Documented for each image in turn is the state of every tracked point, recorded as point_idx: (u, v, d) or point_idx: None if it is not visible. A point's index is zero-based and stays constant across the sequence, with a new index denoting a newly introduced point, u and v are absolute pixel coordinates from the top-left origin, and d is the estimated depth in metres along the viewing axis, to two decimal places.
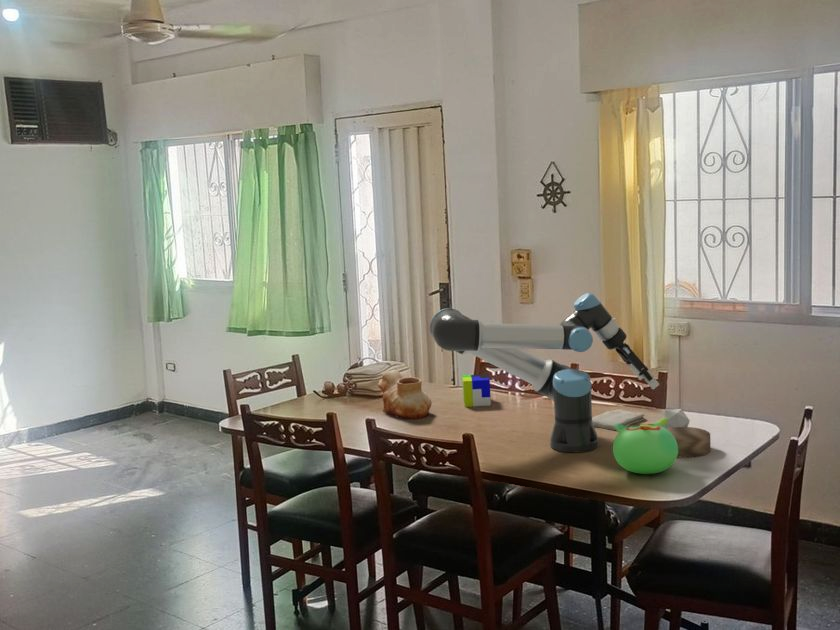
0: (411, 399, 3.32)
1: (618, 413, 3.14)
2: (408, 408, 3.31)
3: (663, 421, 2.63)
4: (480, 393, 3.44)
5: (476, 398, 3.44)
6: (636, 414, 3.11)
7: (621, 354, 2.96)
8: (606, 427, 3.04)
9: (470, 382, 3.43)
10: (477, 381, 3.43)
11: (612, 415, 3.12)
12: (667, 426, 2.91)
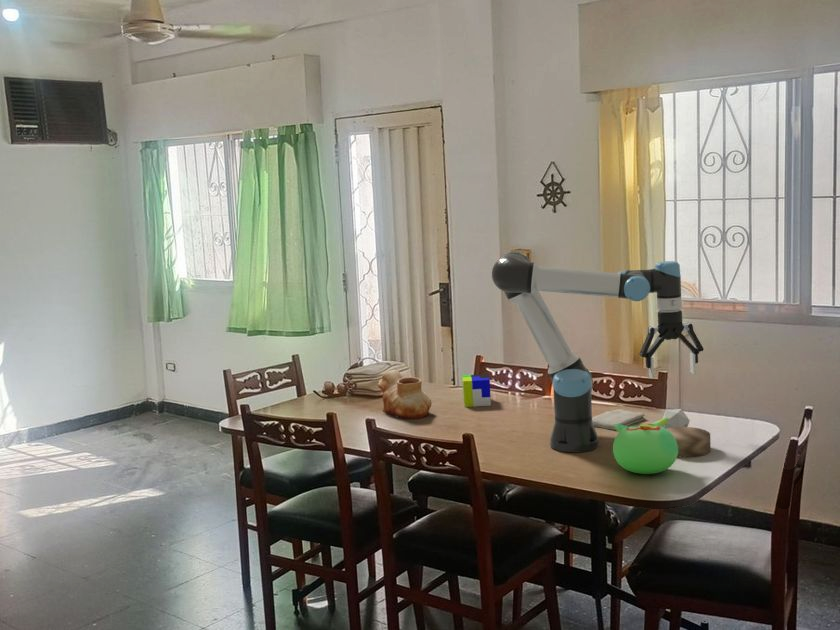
0: (411, 399, 3.32)
1: (618, 413, 3.14)
2: (408, 408, 3.31)
3: (663, 421, 2.63)
4: (480, 393, 3.44)
5: (476, 398, 3.44)
6: (636, 414, 3.11)
7: None
8: (606, 427, 3.04)
9: (470, 382, 3.43)
10: (477, 381, 3.43)
11: (612, 415, 3.12)
12: (667, 426, 2.91)
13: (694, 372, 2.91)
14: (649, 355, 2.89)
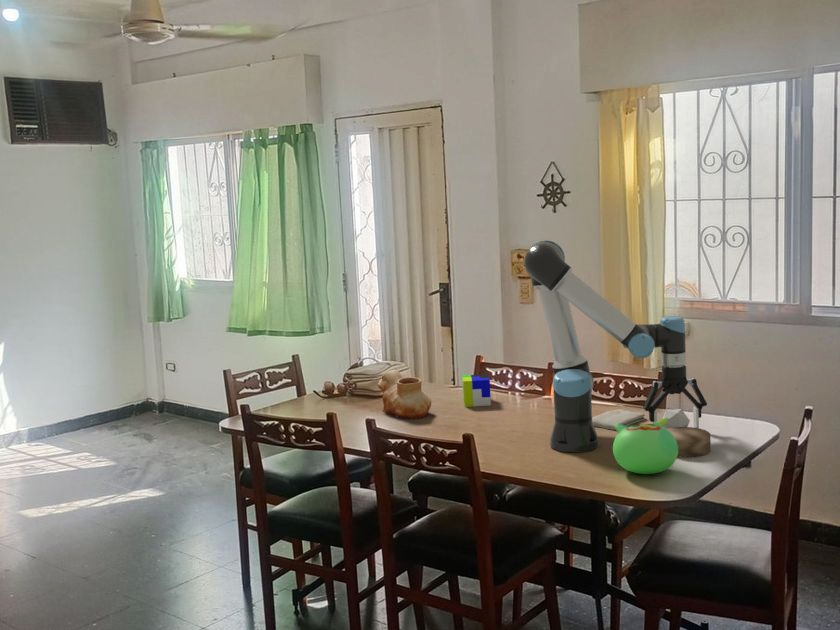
0: (411, 399, 3.32)
1: (618, 413, 3.14)
2: (408, 408, 3.31)
3: (663, 421, 2.63)
4: (480, 393, 3.44)
5: (476, 398, 3.44)
6: (636, 414, 3.11)
7: None
8: (606, 427, 3.04)
9: (470, 382, 3.43)
10: (477, 381, 3.43)
11: (612, 415, 3.12)
12: (667, 426, 2.91)
13: (697, 426, 2.93)
14: (652, 409, 2.91)
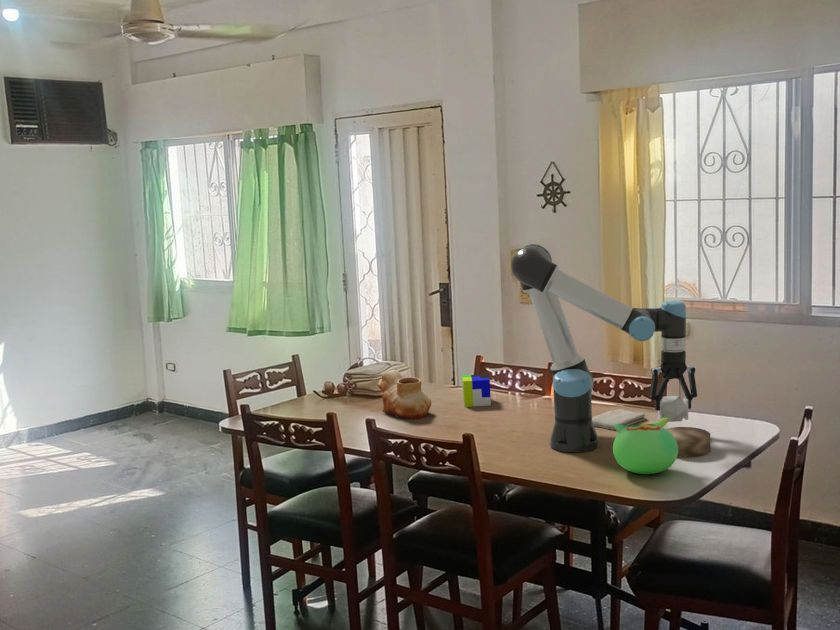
0: (411, 399, 3.32)
1: (619, 413, 3.14)
2: (408, 407, 3.31)
3: (663, 421, 2.63)
4: (480, 393, 3.44)
5: (476, 398, 3.44)
6: (637, 414, 3.11)
7: None
8: (606, 427, 3.04)
9: (470, 382, 3.43)
10: (477, 381, 3.43)
11: (613, 415, 3.12)
12: (665, 412, 2.90)
13: (686, 417, 2.92)
14: (658, 398, 2.91)
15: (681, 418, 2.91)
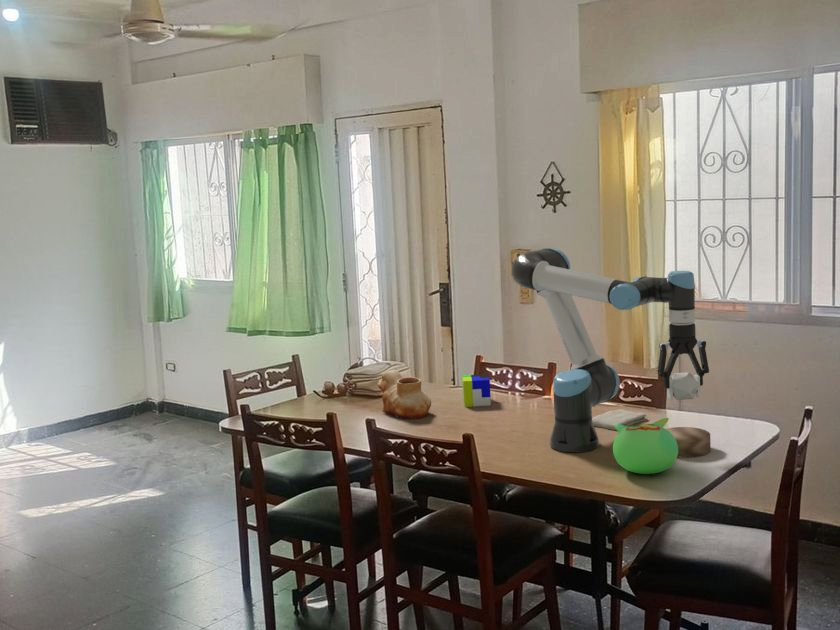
0: (411, 399, 3.32)
1: (619, 413, 3.14)
2: (407, 407, 3.31)
3: (663, 421, 2.63)
4: (480, 393, 3.44)
5: (476, 398, 3.44)
6: (637, 414, 3.11)
7: None
8: (606, 427, 3.04)
9: (470, 382, 3.43)
10: (477, 381, 3.43)
11: (613, 415, 3.12)
12: (675, 390, 2.72)
13: (698, 395, 2.74)
14: (667, 375, 2.72)
15: (693, 396, 2.72)
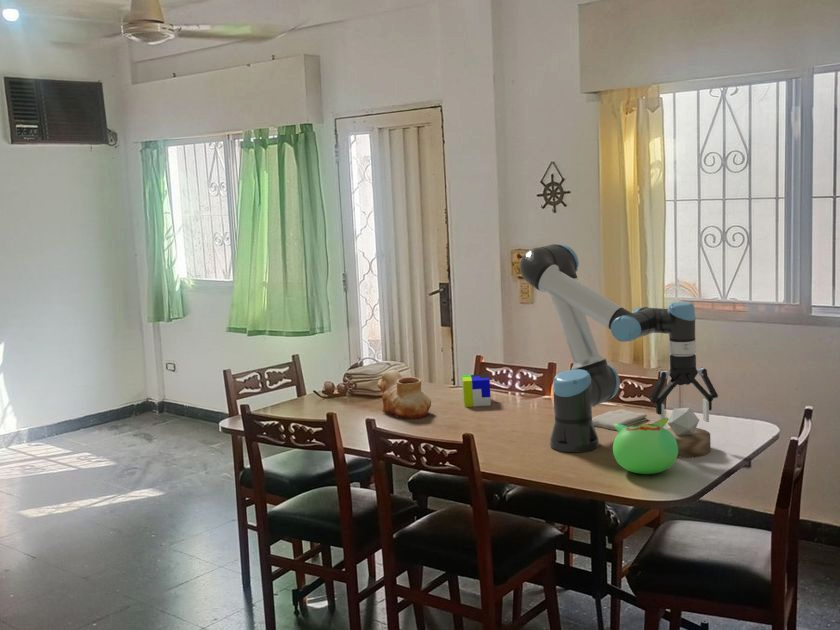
0: (411, 399, 3.32)
1: (620, 413, 3.14)
2: (407, 407, 3.31)
3: (663, 421, 2.63)
4: (480, 393, 3.44)
5: (476, 398, 3.44)
6: (638, 414, 3.11)
7: None
8: (606, 427, 3.04)
9: (470, 382, 3.43)
10: (477, 381, 3.43)
11: (614, 415, 3.12)
12: (675, 426, 2.74)
13: (707, 420, 2.75)
14: (660, 401, 2.73)
15: (693, 431, 2.74)
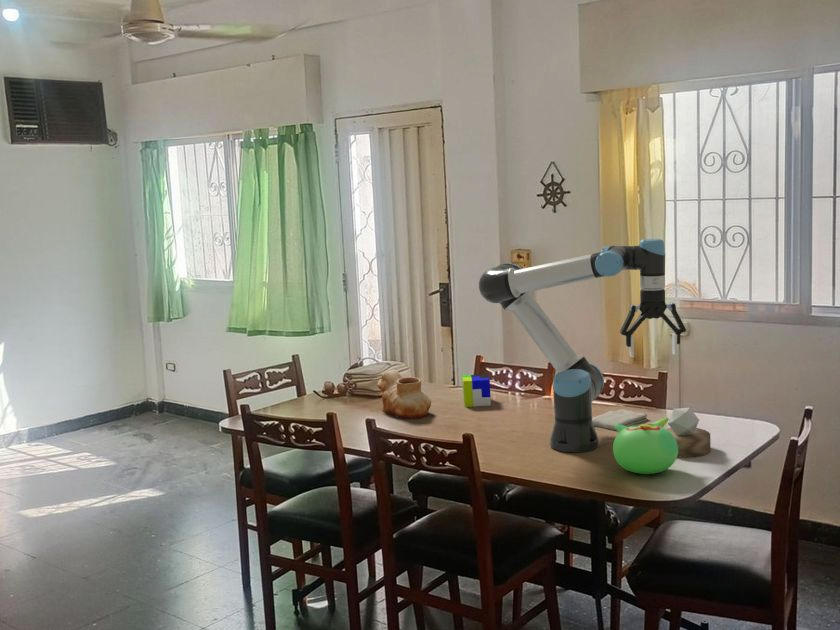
0: (411, 399, 3.32)
1: (621, 413, 3.14)
2: (407, 407, 3.31)
3: (663, 421, 2.63)
4: (480, 393, 3.44)
5: (476, 398, 3.44)
6: (638, 414, 3.11)
7: None
8: (606, 427, 3.04)
9: (470, 382, 3.43)
10: (477, 381, 3.43)
11: (614, 415, 3.12)
12: (675, 426, 2.74)
13: (675, 353, 2.85)
14: (629, 333, 2.84)
15: (693, 431, 2.74)
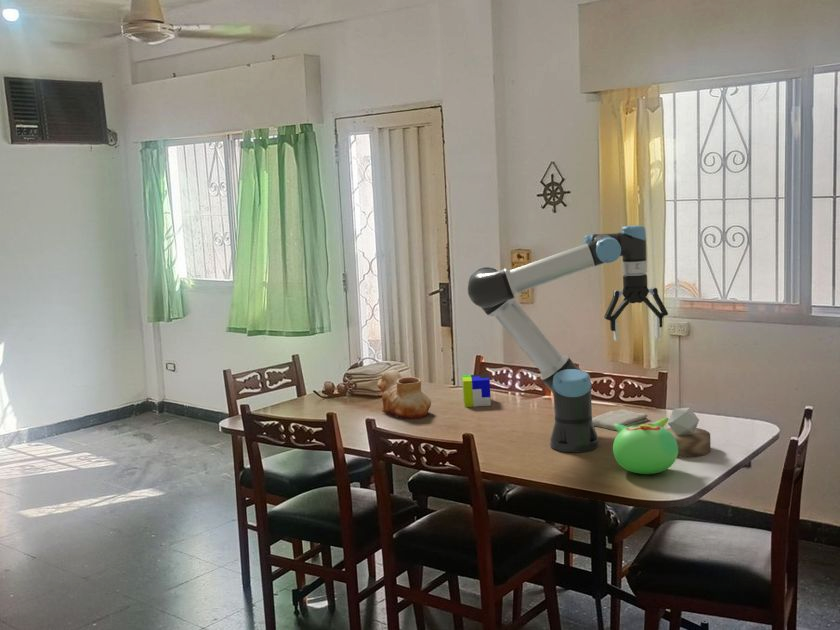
0: (411, 399, 3.32)
1: (621, 413, 3.14)
2: (407, 407, 3.31)
3: (663, 421, 2.63)
4: (480, 393, 3.44)
5: (476, 398, 3.44)
6: (639, 414, 3.11)
7: None
8: (606, 427, 3.04)
9: (470, 382, 3.43)
10: (477, 381, 3.43)
11: (614, 415, 3.12)
12: (675, 426, 2.74)
13: (658, 336, 2.94)
14: (613, 318, 2.92)
15: (693, 431, 2.74)
